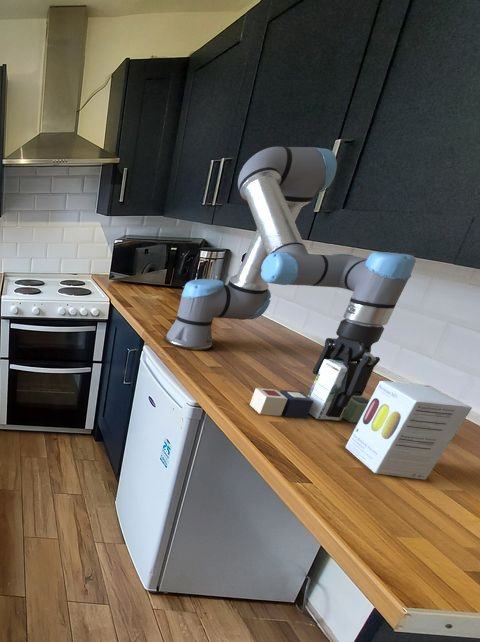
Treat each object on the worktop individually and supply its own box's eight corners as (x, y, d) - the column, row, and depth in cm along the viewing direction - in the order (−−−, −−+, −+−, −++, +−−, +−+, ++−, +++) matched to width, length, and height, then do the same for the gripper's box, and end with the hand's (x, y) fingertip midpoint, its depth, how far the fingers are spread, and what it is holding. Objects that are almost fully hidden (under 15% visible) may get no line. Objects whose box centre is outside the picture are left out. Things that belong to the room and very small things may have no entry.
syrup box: (324, 410, 104) (347, 359, 99) (341, 422, 99) (367, 368, 93) (301, 408, 105) (323, 357, 99) (317, 420, 100) (341, 367, 94)
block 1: (249, 404, 106) (255, 387, 104) (269, 406, 105) (276, 389, 103) (259, 414, 101) (266, 396, 99) (280, 416, 101) (288, 398, 99)
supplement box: (343, 447, 89) (377, 379, 82) (390, 452, 88) (428, 383, 81) (375, 474, 80) (416, 401, 73) (428, 481, 79) (475, 406, 72)
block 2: (273, 406, 105) (280, 389, 103) (293, 408, 105) (301, 391, 103) (284, 416, 101) (292, 398, 99) (306, 418, 100) (314, 400, 98)
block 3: (334, 411, 104) (343, 394, 102) (355, 413, 103) (364, 396, 101) (349, 422, 99) (358, 403, 97) (371, 423, 99) (380, 405, 97)
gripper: (318, 310, 101) (285, 391, 110) (378, 334, 84) (333, 428, 93) (350, 312, 100) (314, 394, 110) (418, 337, 83) (368, 431, 92)
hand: (323, 409), depth 101 cm, fingers closed on syrup box, 6 cm apart
